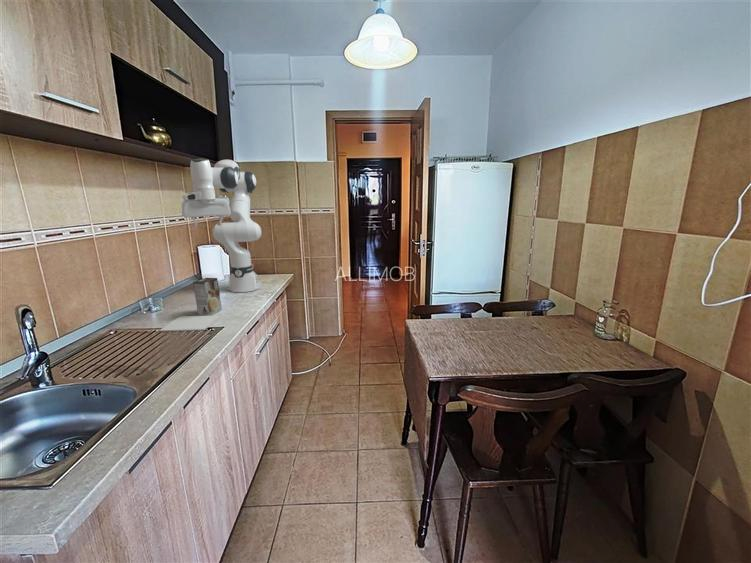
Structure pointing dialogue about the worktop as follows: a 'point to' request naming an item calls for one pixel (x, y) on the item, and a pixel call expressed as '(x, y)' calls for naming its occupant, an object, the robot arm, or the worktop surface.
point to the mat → (190, 323)
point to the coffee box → (207, 296)
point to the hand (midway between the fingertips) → (208, 226)
